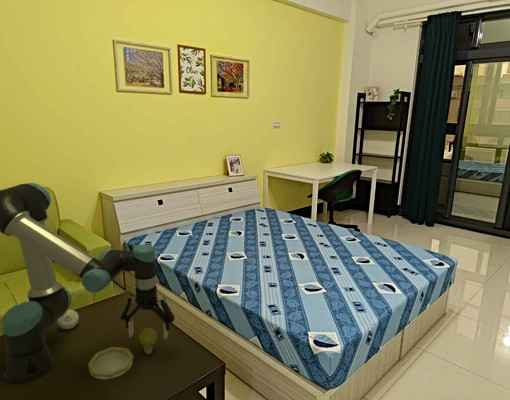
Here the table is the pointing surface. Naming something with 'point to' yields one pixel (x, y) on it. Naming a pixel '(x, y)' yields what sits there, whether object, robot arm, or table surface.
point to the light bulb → (148, 339)
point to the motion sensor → (68, 319)
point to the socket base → (110, 363)
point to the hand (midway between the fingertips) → (148, 336)
